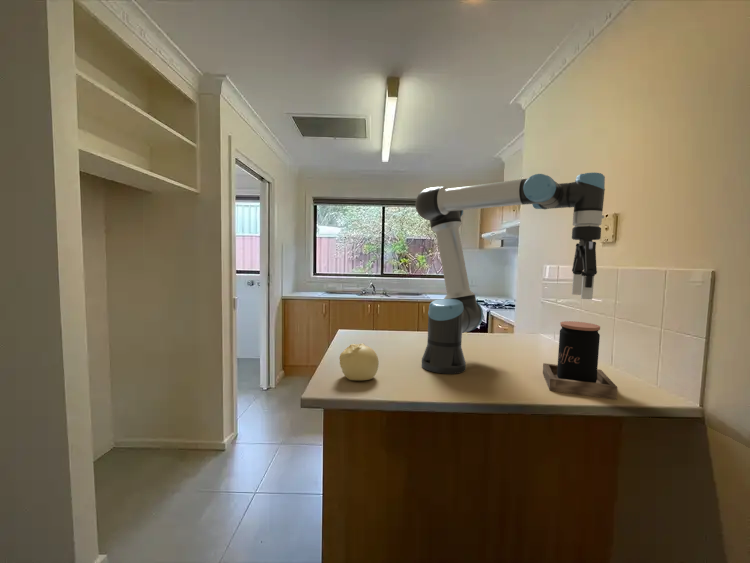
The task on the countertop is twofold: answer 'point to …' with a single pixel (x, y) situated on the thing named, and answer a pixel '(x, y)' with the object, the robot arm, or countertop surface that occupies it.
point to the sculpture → (359, 362)
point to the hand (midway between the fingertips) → (581, 296)
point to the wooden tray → (580, 384)
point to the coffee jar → (578, 351)
